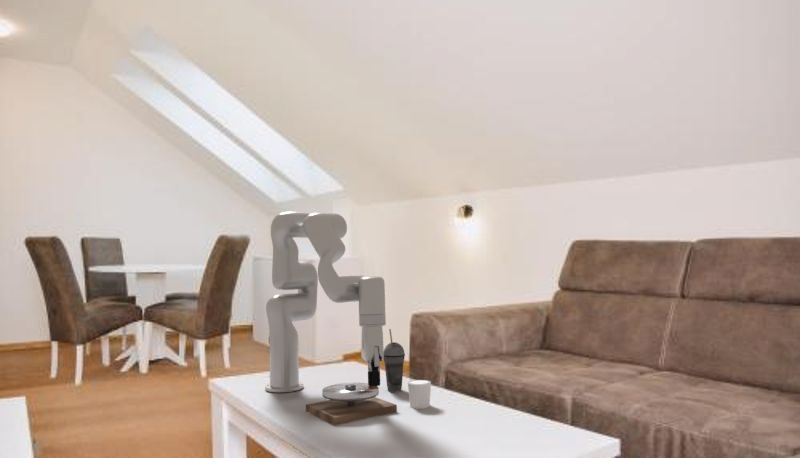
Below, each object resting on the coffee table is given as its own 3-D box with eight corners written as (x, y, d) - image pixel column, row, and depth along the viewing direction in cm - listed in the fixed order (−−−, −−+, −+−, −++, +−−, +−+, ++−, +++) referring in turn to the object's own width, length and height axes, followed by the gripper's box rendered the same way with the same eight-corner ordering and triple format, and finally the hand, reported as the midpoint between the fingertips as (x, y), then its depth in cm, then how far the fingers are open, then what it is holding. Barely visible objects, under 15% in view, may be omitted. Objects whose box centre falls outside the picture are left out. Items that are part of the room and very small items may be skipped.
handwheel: (326, 403, 155) (326, 383, 155) (318, 389, 170) (318, 371, 170) (384, 398, 159) (384, 378, 159) (371, 385, 174) (371, 367, 174)
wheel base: (305, 411, 165) (305, 394, 165) (364, 400, 177) (364, 384, 177) (334, 425, 151) (334, 407, 152) (396, 411, 163) (396, 395, 163)
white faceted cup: (434, 404, 171) (434, 380, 171) (426, 410, 165) (425, 385, 165) (413, 401, 174) (413, 378, 174) (404, 407, 168) (403, 383, 168)
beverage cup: (403, 393, 184) (402, 330, 185) (381, 392, 185) (380, 330, 186) (407, 388, 191) (406, 327, 192) (386, 387, 193) (385, 327, 193)
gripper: (355, 318, 170) (356, 381, 169) (363, 323, 156) (365, 392, 155) (380, 317, 172) (382, 379, 171) (390, 322, 157) (392, 390, 156)
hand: (374, 385), depth 163 cm, fingers closed
